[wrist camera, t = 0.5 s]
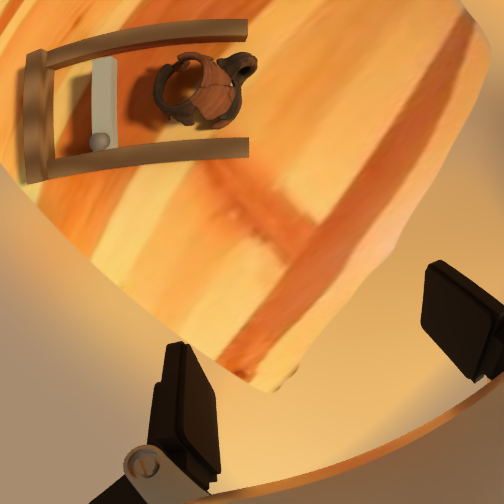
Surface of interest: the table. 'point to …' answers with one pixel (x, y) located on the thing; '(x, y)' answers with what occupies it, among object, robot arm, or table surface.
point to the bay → (45, 63)
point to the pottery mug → (208, 88)
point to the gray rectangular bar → (104, 104)
